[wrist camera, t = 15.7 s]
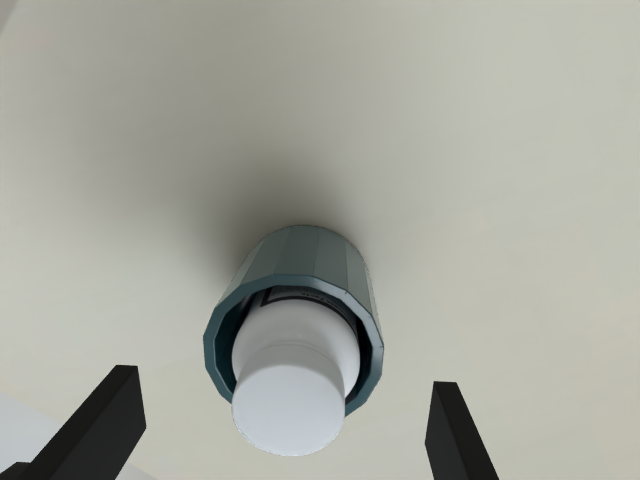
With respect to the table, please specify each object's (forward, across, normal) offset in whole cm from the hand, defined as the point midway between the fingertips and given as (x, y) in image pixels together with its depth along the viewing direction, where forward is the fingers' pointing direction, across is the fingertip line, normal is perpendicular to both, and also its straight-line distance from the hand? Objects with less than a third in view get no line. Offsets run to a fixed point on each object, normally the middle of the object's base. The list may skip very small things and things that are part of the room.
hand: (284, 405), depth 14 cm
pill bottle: (+10, 0, 0) cm, 10 cm away
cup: (+10, 0, 0) cm, 10 cm away
